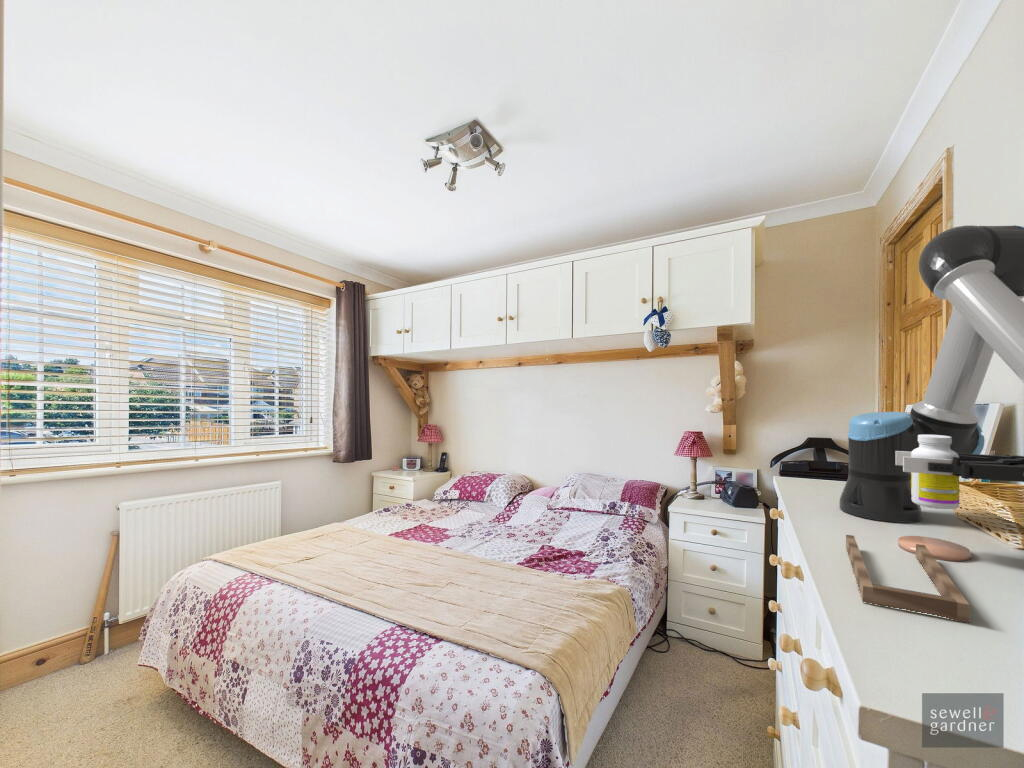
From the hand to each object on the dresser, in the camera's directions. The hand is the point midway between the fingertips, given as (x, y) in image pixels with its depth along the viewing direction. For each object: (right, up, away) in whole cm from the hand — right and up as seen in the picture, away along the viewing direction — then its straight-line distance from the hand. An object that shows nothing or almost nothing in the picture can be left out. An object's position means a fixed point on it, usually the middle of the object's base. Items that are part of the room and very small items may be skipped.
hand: (899, 460), depth 90 cm
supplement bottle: (+4, -8, -2) cm, 9 cm away
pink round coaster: (+5, -16, -2) cm, 17 cm away
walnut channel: (-12, -17, -14) cm, 25 cm away
